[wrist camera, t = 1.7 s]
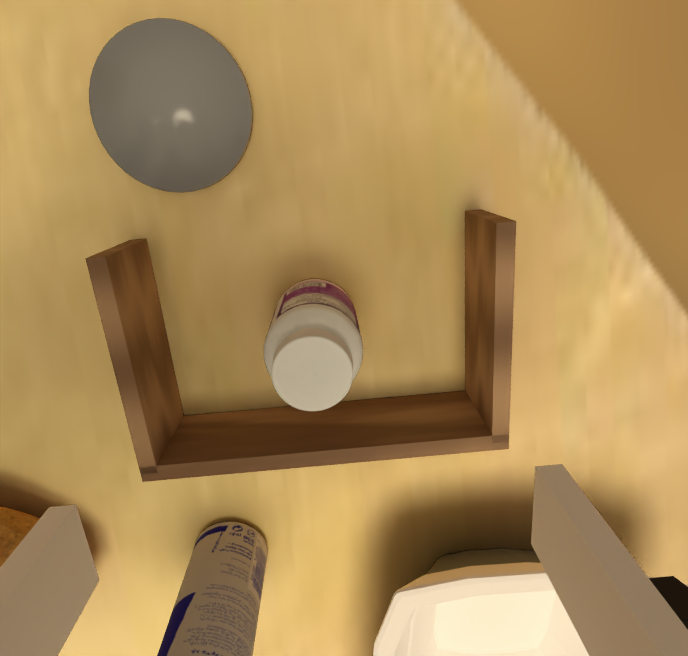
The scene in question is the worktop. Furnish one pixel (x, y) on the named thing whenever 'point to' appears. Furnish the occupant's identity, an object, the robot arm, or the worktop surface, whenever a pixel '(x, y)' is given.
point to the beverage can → (219, 594)
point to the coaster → (170, 105)
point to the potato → (13, 530)
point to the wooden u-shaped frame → (298, 425)
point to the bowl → (479, 610)
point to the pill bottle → (313, 345)
